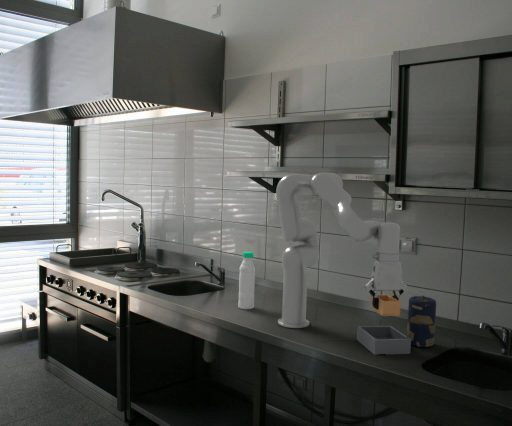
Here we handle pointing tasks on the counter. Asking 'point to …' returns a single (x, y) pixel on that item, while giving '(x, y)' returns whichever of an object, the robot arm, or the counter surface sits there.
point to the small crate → (387, 306)
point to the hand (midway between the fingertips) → (385, 307)
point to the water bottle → (246, 282)
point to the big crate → (383, 340)
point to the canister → (421, 321)
